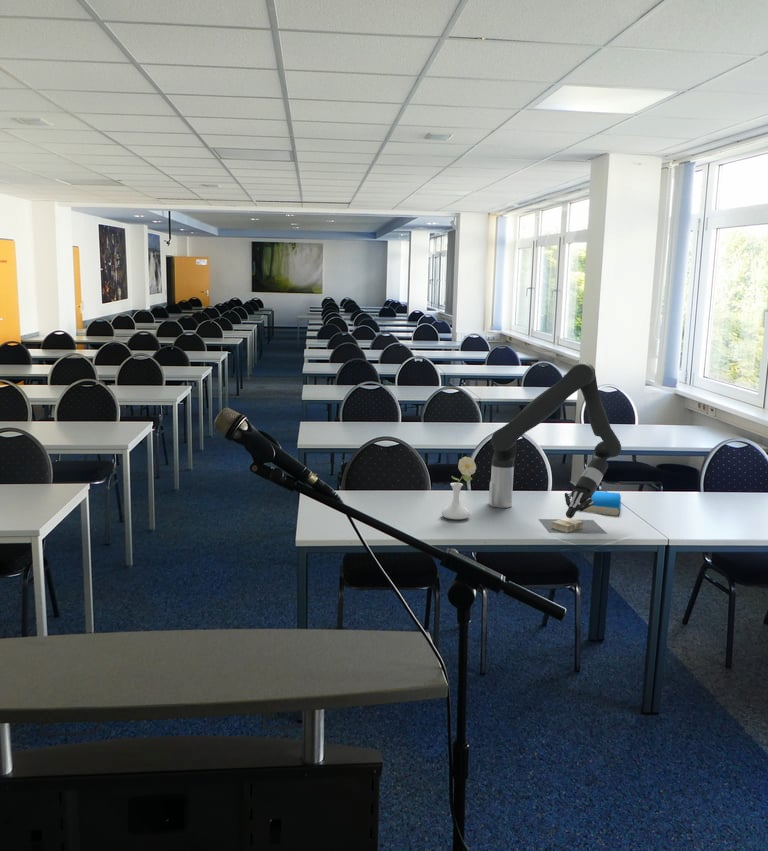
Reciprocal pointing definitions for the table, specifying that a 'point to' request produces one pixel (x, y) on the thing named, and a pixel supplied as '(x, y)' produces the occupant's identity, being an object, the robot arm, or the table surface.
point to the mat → (588, 527)
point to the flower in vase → (455, 507)
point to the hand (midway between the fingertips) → (568, 516)
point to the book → (605, 503)
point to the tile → (567, 524)
